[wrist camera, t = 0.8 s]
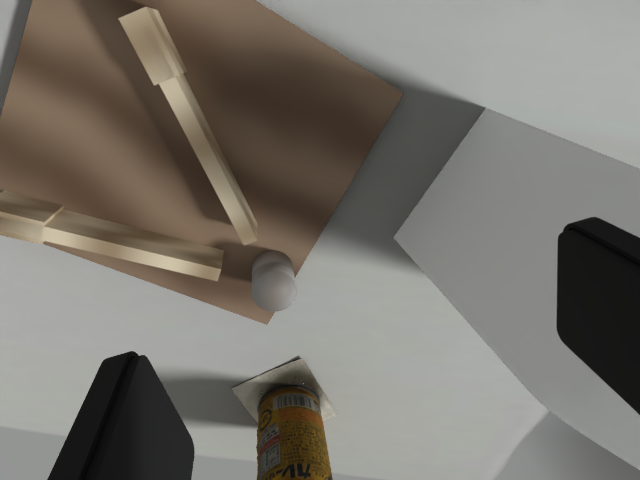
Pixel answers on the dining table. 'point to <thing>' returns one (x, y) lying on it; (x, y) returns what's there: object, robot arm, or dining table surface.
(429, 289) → the dining table surface
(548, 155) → the milk
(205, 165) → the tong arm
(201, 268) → the beige long slender part
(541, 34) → the dining table surface
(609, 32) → the dining table surface
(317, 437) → the condiment
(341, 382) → the dining table surface
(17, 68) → the board
